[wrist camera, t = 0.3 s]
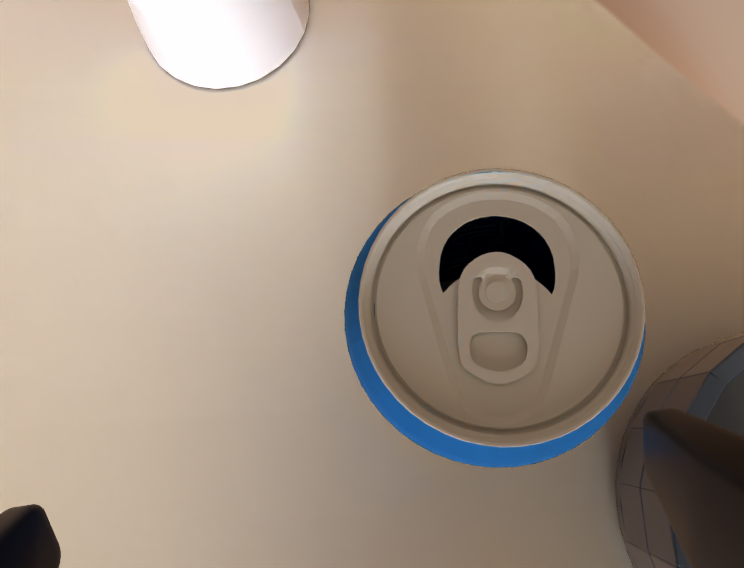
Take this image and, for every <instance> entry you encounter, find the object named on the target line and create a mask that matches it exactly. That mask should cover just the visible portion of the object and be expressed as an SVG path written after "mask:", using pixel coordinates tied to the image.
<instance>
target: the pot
mask: <svg viewBox="0 0 744 568" xmlns="http://www.w3.org/2000/svg"><path fill="white" fill-rule="evenodd" d="M665 408H676V409H679V410H681V411H684V412H686V413H688V414H691V415H693V416H696V417H698V418H700V419H703V420H705V421H708V422H710V423H712V424H715V425H717V426H720V427H722V428H725V429H727V430H729V431H732V432H734V433H737V434H739V435H741V436H744V332H742V333H739V334H737V335H734V336H732V337H729V338H726V339H724V340H721V341H718V342H715V343H713V344H710V345H707V346H704V347H702V348H700V349H697V350H696V351H694V352H692V353H691V354H689V355H687V356H685V357H684V358H682V359H681V360H680V361H678V362H677V363H676V364H674V365H673V366H671V367H670V368H669V369H668V370H667V371H665V372H664V373H663V374H662V375H661V376H660V377H659V378H658V379H657V380H656V381H655V382H654V383H653V385H652V386H651V387H650V388H649V390H648V391H647V392H646V394H645V395H644V396H643V398H642V399H641V400H640V402H639V404H638V406H637V408H636V409H635V411H634V413H633V415H632V416H631V418H630V421H629V424H628V426H627V429H626V431H625V434H624V436H623V440H622V444H621V448H620V453H619V457H618V464H617V474H616V503H617V511H618V517H619V523H620V529H621V532H622V536H623V539H624V543H625V546H626V550H627V553H628V555H629V558H630V560H631V562H632V565H633V567H634V568H691V566H690V564H689V562H688V560H687V558H686V556H685V554H684V552H683V550H682V547H681V545H680V543H679V541H678V539H677V537H676V535H675V533H674V531H673V529H672V527H671V524H670V522H669V520H668V518H667V516H666V514H665V512H664V510H663V508H662V506H661V504H660V501H659V499H658V497H657V495H656V493H655V491H654V489H653V487H652V485H651V483H650V481H649V478H648V476H647V474H646V471H645V467H644V462H643V417H644V414H645V413H646V412H648V411H652V410H659V409H665Z"/></svg>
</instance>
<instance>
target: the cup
mask: <svg viewBox="0 0 744 568" xmlns="http://www.w3.org/2000/svg"><path fill="white" fill-rule="evenodd" d="M127 1H128V4H129V6H130V9H131V11H132V14H133V16H134V18H135V21H136V23H137V26H138V28H139V31H140V33H141V35H142V37H143V39H144V41H145V43H146V45H147V47H148V49H149V50H150V52H151V53H152V55H153V56H154V58H155V59H156V61H157V62H158V64H159V65H160V66H161V67H162V68H163V69H165V70H166V71H167V72H168V73H170V74H171V75H172V76H173V77H175V78H176V79H179V80H181V81H184V82H186V83H189V84H191V85H193V86H199V87H206V88H214V89H219V88H228V87H237V86H241V85H244V84H247V83H249V82H252V81H255V80H258V79H260V78H262V77H263V76H265V75H267V74H268V73H270V72H271V71H273V70H274V69H276V68H277V67H279V66H280V65H281V64H282V63H283V62H284V61H285V60H286V59H287V58H288V57H289V56H290V55H291V54H292V52H293V51H294V50H295V49H296V47H297V45H298V43H299V41H300V40H301V38H302V36H303V34H304V32H305V29H306V24H307V20H308V16H309V0H127Z"/></svg>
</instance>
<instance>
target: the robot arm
mask: <svg viewBox="0 0 744 568" xmlns="http://www.w3.org/2000/svg"><path fill="white" fill-rule="evenodd" d="M643 462H644V467H645V471H646V474H647V476H648V478H649V481H650V483H651V485H652V487H653V489H654V491H655V493H656V495H657V497H658V499H659V501H660V504H661V506H662V508H663V510H664V512H665V514H666V516H667V518H668V520H669V522H670V524H671V527H672V529H673V531H674V533H675V535H676V537H677V539H678V541H679V543H680V545H681V547H682V550H683V552H684V554H685V556H686V558H687V560H688V562H689V564H690V566H691V568H744V436H741V435H739V434H737V433H734V432H732V431H729V430H727V429H725V428H722V427H720V426H717V425H715V424H712V423H710V422H708V421H705V420H703V419H700V418H698V417H696V416H693V415H691V414H688V413H686V412H684V411H681V410H679V409H676V408H665V409H659V410H652V411H648V412H646V413H645V414H644V417H643ZM60 558H61V551H60V546H59V543H58V541H57V539H56V536H55V534H54V532H53V529H52V527H51V525H50V522H49V520H48V518H47V515H46V513H45V511H44V509H43V508H42V507H41V506H39V505H36V504H33V505H27V506H20V507H13V508H10V509H8V510H6V511H4V512H3V513H1V514H0V568H59V564H60Z"/></svg>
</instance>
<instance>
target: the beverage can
mask: <svg viewBox="0 0 744 568" xmlns="http://www.w3.org/2000/svg"><path fill="white" fill-rule="evenodd" d="M344 315H345V334H346V340H347V346H348V351H349V354H350V357H351V361H352V364H353V367H354V370H355V372H356V374H357V376H358V379H359V381H360V383H361V385H362V387H363V388H364V390H365V392H366V393H367V395H368V397H369V398H370V400H371V401H372V403H373V404H374V405H375V406H376V408H377V409H378V410H379V411H380V413H381V414H382V415H383V416H384V417H385V418H386V419H387V420H388V421H389V422H390V423H391V424H392V425H393V426H394V427H395V428H396V429H397V430H398V431H399V432H401V433H402V434H404V435H405V436H406V437H408V438H409V439H410V440H412V441H413V442H415V443H416V444H418V445H420V446H422V447H423V448H425V449H427V450H429V451H431V452H433V453H435V454H437V455H440V456H442V457H445V458H448V459H450V460H453V461H457V462H461V463H465V464H469V465H474V466H484V467H494V468H496V467H517V466H523V465H529V464H535V463H538V462H541V461H544V460H548V459H551V458H554V457H556V456H558V455H561V454H563V453H565V452H567V451H569V450H571V449H573V448H575V447H576V446H578V445H579V444H581V443H582V442H584V441H585V440H587V439H588V438H590V437H591V436H592V435H593V434H594V433H596V432H597V431H598V430H599V429H600V428H601V427H602V426H603V425H605V424H606V422H607V421H608V420H609V419H610V418H611V416H612V415H613V414H614V413H615V412H616V411H617V409H618V408H619V406H620V405H621V403H622V402H623V400H624V398H625V397H626V395H627V394H628V392H629V390H630V388H631V386H632V383H633V381H634V379H635V377H636V374H637V372H638V368H639V365H640V361H641V358H642V354H643V347H644V340H645V299H644V292H643V285H642V281H641V278H640V274H639V271H638V267H637V264H636V262H635V260H634V258H633V255H632V253H631V251H630V249H629V247H628V245H627V244H626V242H625V240H624V238H623V237H622V235H621V233H620V232H619V231H618V230H617V228H616V227H615V226H614V224H613V223H612V222H611V221H610V219H609V218H608V217H607V216H606V215H605V214H604V213H603V212H602V211H601V210H600V209H599V208H598V207H597V206H596V205H594V204H593V203H592V202H590V201H589V200H588V199H587V198H585V197H584V196H583V195H581V194H580V193H578V192H576V191H575V190H573V189H571V188H570V187H568V186H566V185H564V184H562V183H560V182H557V181H555V180H553V179H551V178H548V177H544V176H541V175H538V174H535V173H531V172H525V171H520V170H513V169H482V170H475V171H469V172H464V173H460V174H457V175H454V176H451V177H447V178H445V179H442V180H440V181H438V182H436V183H434V184H432V185H429V186H428V187H426V188H425V189H423V190H421V191H420V192H418V193H417V194H415V195H414V196H412V197H411V198H409V199H407V200H406V201H404V202H403V203H402V204H400V205H399V206H398V207H397V208H395V209H394V210H393V211H392V212H391V213H389V214H388V216H387V217H386V218H385V219H384V220H383V221H382V222H381V223H380V224H379V225H378V226H377V227H376V229H375V230H374V231H373V233H372V234H371V236H370V237H369V238H368V240H367V241H366V243H365V245H364V246H363V248H362V250H361V252H360V254H359V256H358V257H357V260H356V262H355V265H354V268H353V270H352V273H351V276H350V280H349V284H348V288H347V292H346V301H345V310H344Z"/></svg>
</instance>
